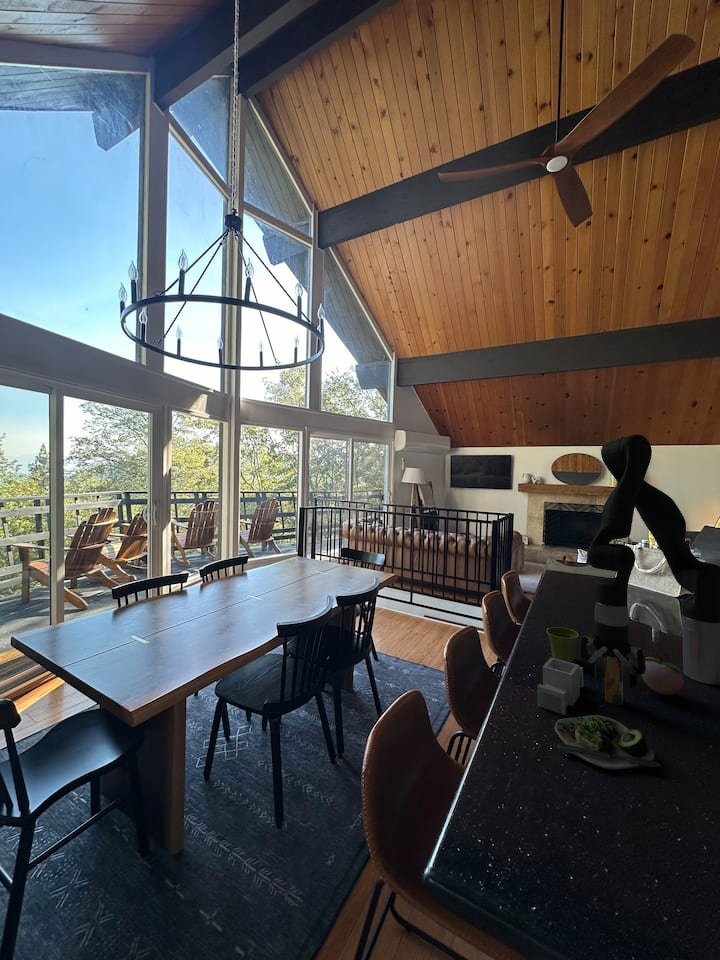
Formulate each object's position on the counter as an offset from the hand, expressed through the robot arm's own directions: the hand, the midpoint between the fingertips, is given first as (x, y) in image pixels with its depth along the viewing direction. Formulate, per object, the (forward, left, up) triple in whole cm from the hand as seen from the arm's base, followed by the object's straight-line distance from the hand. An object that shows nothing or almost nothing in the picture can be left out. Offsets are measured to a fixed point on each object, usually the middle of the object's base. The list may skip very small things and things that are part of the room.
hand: (612, 681), depth 105 cm
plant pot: (+17, -17, -5) cm, 24 cm away
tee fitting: (+11, +6, -5) cm, 13 cm away
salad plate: (-2, +21, -5) cm, 22 cm away
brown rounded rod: (0, 0, -5) cm, 5 cm away
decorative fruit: (-9, -11, -5) cm, 15 cm away
